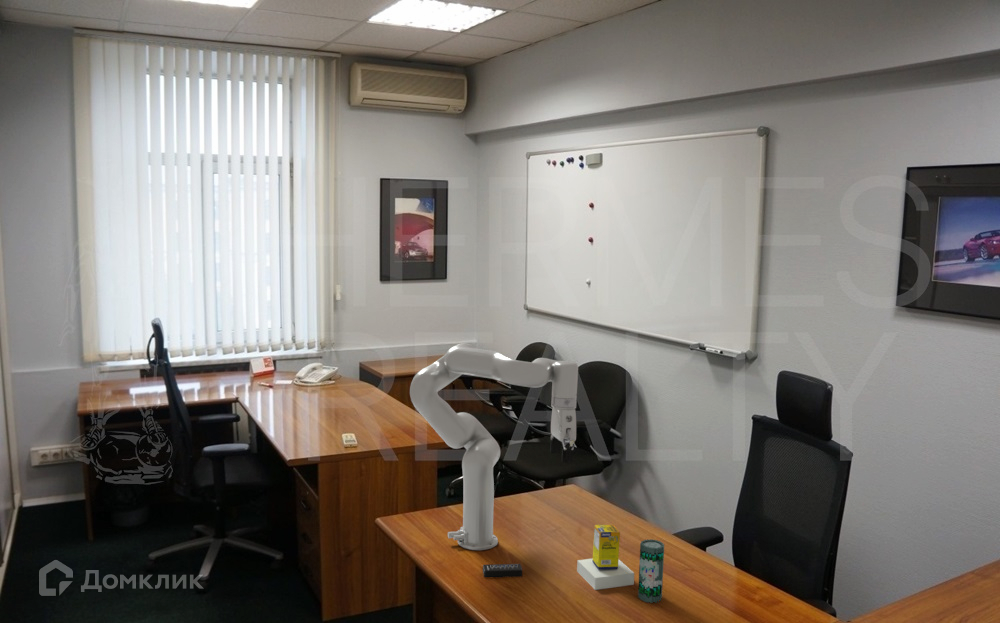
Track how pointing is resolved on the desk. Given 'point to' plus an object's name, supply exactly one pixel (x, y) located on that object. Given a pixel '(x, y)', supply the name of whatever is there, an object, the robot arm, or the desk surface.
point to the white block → (605, 575)
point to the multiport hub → (502, 570)
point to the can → (651, 570)
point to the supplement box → (606, 547)
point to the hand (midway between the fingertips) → (560, 457)
